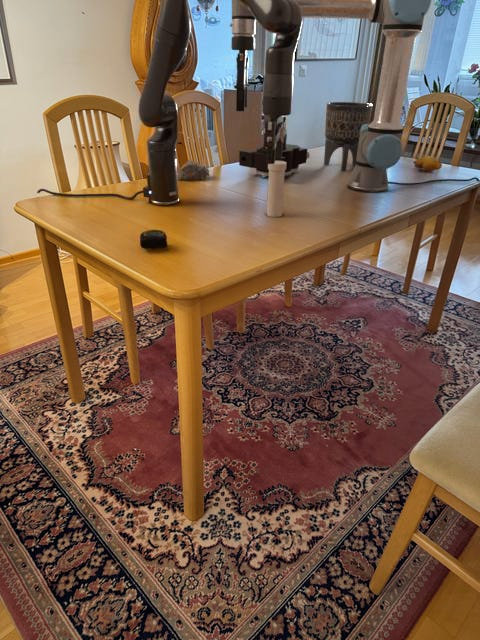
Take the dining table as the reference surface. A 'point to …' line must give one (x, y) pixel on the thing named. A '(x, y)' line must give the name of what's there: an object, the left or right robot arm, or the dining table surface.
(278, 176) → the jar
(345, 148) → the planter
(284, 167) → the white cylinder with groove
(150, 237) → the tape measure
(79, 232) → the dining table surface
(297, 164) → the mechanical component
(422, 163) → the toy
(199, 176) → the rock
